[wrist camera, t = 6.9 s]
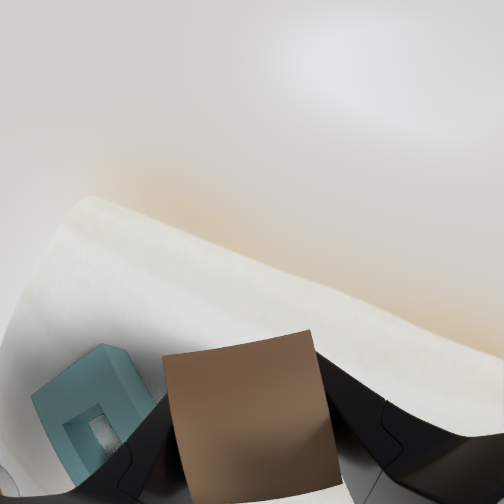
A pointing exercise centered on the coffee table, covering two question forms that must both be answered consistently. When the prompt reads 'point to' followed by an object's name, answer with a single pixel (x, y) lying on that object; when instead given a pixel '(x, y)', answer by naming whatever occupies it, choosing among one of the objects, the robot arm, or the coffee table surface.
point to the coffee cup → (7, 484)
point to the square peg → (252, 421)
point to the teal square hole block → (91, 407)
